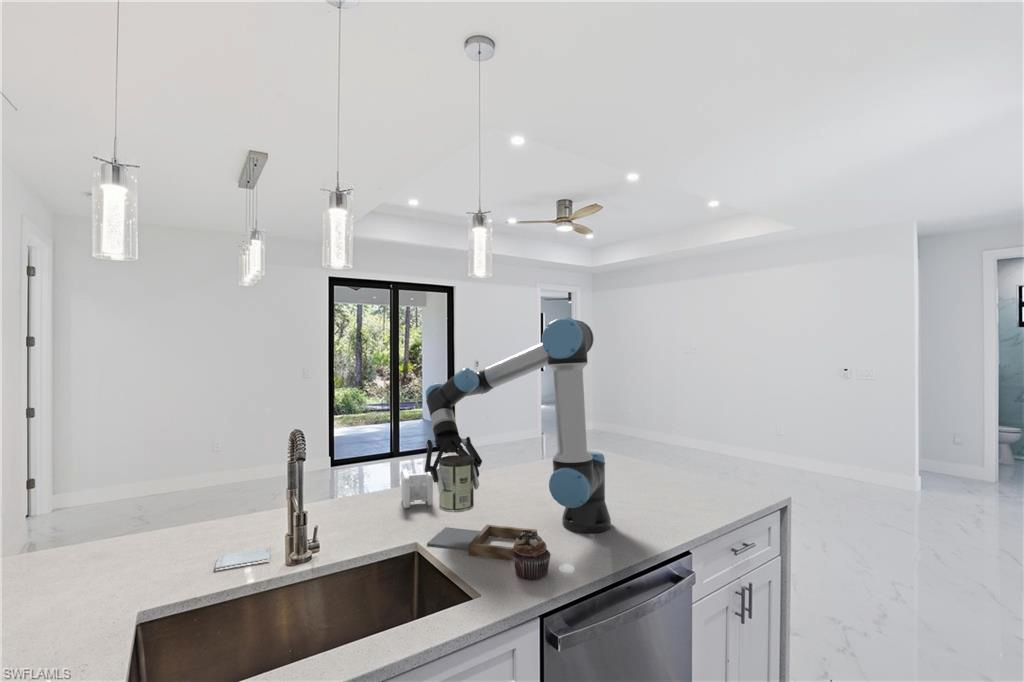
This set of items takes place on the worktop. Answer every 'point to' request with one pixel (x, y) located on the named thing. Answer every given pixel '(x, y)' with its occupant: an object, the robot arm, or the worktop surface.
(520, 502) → the worktop surface
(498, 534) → the walnut collar
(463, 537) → the rubber pad
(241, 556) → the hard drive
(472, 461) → the coffee can
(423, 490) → the cable organizer
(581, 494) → the robot arm
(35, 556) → the worktop surface
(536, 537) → the cupcake
